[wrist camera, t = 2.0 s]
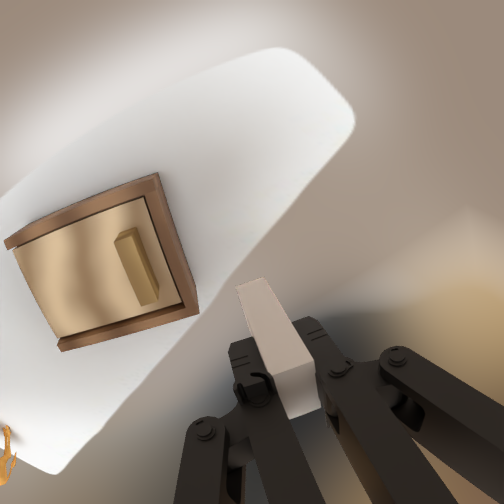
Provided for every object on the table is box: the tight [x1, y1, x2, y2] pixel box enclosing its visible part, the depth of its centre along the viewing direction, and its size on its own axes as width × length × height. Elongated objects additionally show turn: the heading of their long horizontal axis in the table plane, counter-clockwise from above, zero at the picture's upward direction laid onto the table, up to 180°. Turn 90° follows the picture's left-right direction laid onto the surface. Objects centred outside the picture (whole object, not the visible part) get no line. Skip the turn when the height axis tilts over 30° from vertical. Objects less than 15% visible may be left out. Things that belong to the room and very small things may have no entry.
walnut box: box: [4, 172, 200, 352], centre depth 27 cm, size 16×13×6 cm
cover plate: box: [12, 196, 182, 338], centre depth 24 cm, size 15×10×4 cm
